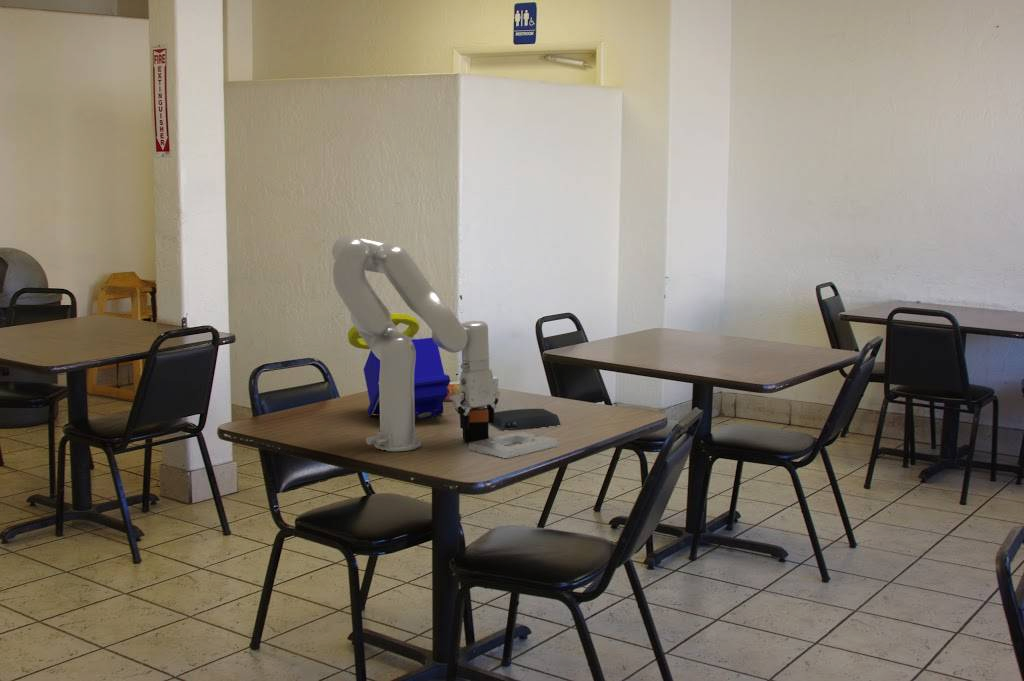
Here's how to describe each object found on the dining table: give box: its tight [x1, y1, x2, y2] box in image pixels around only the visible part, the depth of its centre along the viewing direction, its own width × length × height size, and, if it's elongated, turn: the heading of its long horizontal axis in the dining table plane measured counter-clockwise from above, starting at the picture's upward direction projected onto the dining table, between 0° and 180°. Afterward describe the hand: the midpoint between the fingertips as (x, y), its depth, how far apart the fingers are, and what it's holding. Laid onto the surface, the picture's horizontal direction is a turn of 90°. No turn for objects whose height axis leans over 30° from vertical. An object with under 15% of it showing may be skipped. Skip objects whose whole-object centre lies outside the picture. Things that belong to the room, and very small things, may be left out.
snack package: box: [444, 380, 460, 402], centre depth 372 cm, size 21×7×7 cm, turn 93°
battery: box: [462, 406, 490, 443], centre depth 313 cm, size 4×7×10 cm, turn 102°
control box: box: [347, 312, 451, 421], centre depth 342 cm, size 26×27×30 cm
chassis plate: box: [468, 430, 558, 459], centre depth 304 cm, size 20×14×2 cm
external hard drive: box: [488, 408, 562, 432], centre depth 334 cm, size 13×19×4 cm
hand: (477, 425), depth 313 cm, fingers open, 9 cm apart
